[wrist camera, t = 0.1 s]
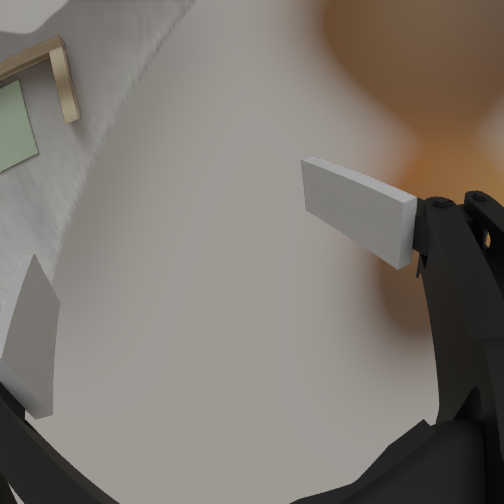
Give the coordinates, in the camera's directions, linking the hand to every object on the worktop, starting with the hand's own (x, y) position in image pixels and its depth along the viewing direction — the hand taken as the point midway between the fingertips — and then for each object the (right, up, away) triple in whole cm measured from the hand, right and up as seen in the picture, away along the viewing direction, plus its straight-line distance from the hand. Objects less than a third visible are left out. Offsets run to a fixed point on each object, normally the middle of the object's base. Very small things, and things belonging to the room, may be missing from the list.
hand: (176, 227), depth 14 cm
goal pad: (-26, +14, +14) cm, 33 cm away
